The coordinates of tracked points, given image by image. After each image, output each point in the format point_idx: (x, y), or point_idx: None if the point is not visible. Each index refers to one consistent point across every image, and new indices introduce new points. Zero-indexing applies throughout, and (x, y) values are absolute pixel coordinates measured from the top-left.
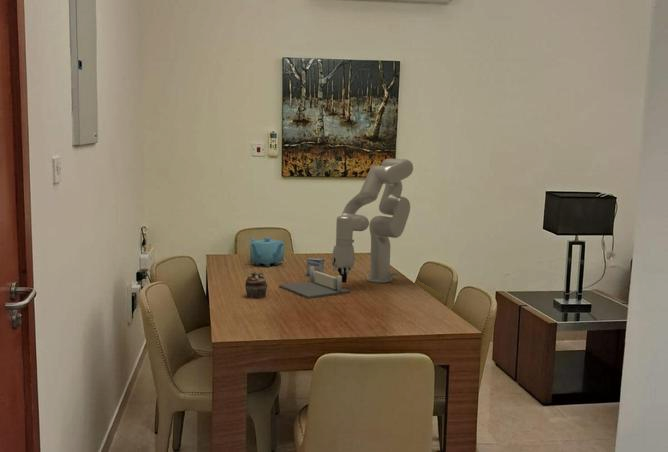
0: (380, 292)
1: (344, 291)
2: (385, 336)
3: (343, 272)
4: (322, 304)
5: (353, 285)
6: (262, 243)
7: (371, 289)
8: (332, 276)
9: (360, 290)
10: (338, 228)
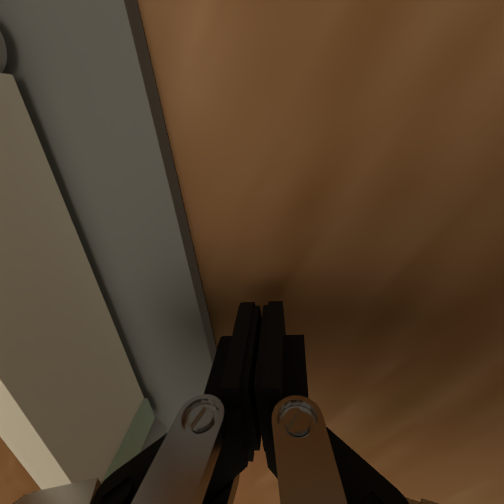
0: (432, 488)
1: None
2: None
3: (230, 483)
4: (20, 493)
5: (429, 261)
6: None
7: (449, 424)
8: (51, 463)
9: (347, 411)
10: None
